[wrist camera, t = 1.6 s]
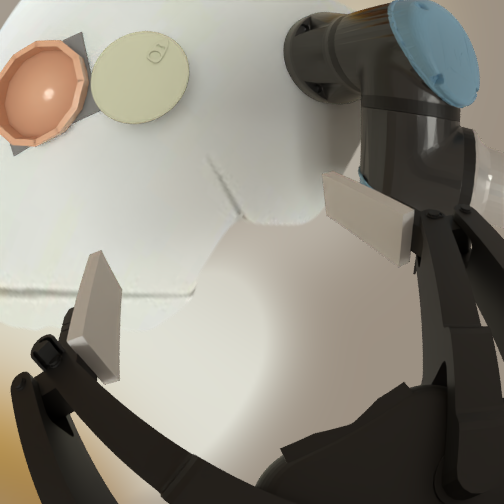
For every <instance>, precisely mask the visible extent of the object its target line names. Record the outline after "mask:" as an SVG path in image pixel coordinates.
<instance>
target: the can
mask: <svg viewBox="0 0 504 504" xmlns="http://www.w3.org/2000/svg"><path fill="white" fill-rule="evenodd" d="M188 79H189V64H188V60H187V57H186V55H185V53H184V51H183V49H182V48H181V47H180V46H179V45H178V43H176V42H175V41H174V40H173V39H171V38H170V37H168V36H166V35H163V34H161V33H157V32H151V31H142V32H135V33H131V34H128V35H125V36H123V37H121V38H119V39H117V40H116V41H114V42H113V43H111V44H110V45H109V46H108V47H107V48H106V49H105V50H104V51H103V52H102V54H101V55H100V56H99V58H98V59H97V61H96V63H95V65H94V68H93V71H92V75H91V92H92V96H93V99H94V101H95V103H96V104H97V106H98V107H99V109H100V110H101V111H102V112H103V113H104V114H105V115H107V116H108V117H110V118H111V119H114V120H116V121H119V122H122V123H128V124H140V123H146V122H149V121H152V120H155V119H157V118H159V117H161V116H163V115H164V114H166V113H167V112H168V111H170V110H171V109H172V108H173V107H174V106H175V105H176V104H177V103H178V101H179V100H180V99H181V97H182V96H183V94H184V92H185V89H186V87H187V84H188Z"/></svg>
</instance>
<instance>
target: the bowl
mask: <svg viewBox="0 0 504 504" xmlns="http://www.w3.org/2000/svg"><path fill="white" fill-rule="evenodd" d="M88 84H89V80H88V73H87V69H86V66H85V63H84V59H83V58H82V57H81V56H80V55H79V54H77V53H76V52H75V51H74V50H72V49H71V48H70V47H69V46H67V45H66V44H65V43H64V42H62V41H61V40H48V41H35V42H34V43H32V44H30V45H28V46H27V47H25V48H24V49H22V50H20V51H19V52H17V53H16V54H14V55H13V56H12V57H11V58H10V60H9V61H8V63H7V64H6V65H5V67H4V68H3V70H2V71H1V73H0V134H1V135H2V136H3V137H4V138H5V139H6V140H7V141H8V142H10V143H11V144H12V145H19V146H38V145H41V144H43V143H45V142H47V141H48V140H50V139H52V138H54V137H56V136H58V135H60V134H62V133H64V132H65V131H66V130H67V128H68V127H69V126H70V125H71V124H72V123H73V122H74V120H75V119H76V118H77V116H78V115H79V113H80V111H81V110H82V108H83V105H84V102H85V99H86V96H87V91H88Z"/></svg>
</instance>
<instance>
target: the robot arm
mask: <svg viewBox="0 0 504 504" xmlns="http://www.w3.org/2000/svg"><path fill="white" fill-rule="evenodd" d="M284 58H285V63H286V66H287V69H288V72H289V74H290V76H291V77H292V79H293V81H294V82H295V83H296V85H297V86H298V87H299V88H300V89H301V90H302V91H303V92H304V93H305V94H307V95H308V96H310V97H311V98H313V99H315V100H317V101H320V102H323V103H329V104H346V103H351V102H354V101H356V100H358V99H360V98H361V161H360V167H359V170H358V173H359V176H360V183H359V182H356V181H354V180H352V179H350V178H347V177H345V176H343V175H341V174H338V173H336V172H334V171H331V172H327V173H324V174H322V178H323V187H324V196H325V206H326V215H327V216H328V217H330V218H331V219H332V220H334V221H336V222H337V223H338V224H340V225H341V226H343V227H344V228H345V229H347V230H348V231H350V232H351V233H352V234H354V235H355V236H357V237H358V238H359V239H361V240H362V241H363V242H365V243H366V244H368V245H369V246H370V247H372V248H373V249H374V250H376V251H378V252H379V253H380V254H381V255H382V256H384V257H385V258H386V259H388V260H389V261H390V262H392V263H393V264H394V265H396V266H397V267H398V268H399V267H401V266H402V265H405V264H407V263H408V262H410V252H411V251H412V252H413V253H415V254H416V260H415V266H414V273H413V274H415V273H416V271H417V277H418V287H419V296H420V307H421V320H422V339H423V378H422V384H421V385H420V386H415V387H411V388H409V387H408V386H407V385H406V384H405V383H404V382H403V383H402V384H400V385H399V386H398V387H396V388H394V389H393V390H391V391H390V392H388V393H387V394H385V395H383V396H382V397H380V398H379V399H377V400H376V401H375V402H374V403H373V404H372V406H370V407H369V408H368V409H367V410H366V411H365V412H364V413H363V414H362V415H361V416H360V417H359V418H358V419H357V420H356V421H355V422H354V423H352V424H350V425H347V426H343V427H339V428H336V429H332V430H328V431H323V432H319V433H315V434H312V435H310V436H308V437H306V438H304V439H301V440H299V441H297V442H295V443H292V444H290V445H287V446H285V447H283V448H280V449H281V452H282V454H283V455H282V456H281V457H280V458H278V459H277V460H276V461H274V462H273V463H272V464H271V465H270V466H269V467H268V468H267V469H266V470H265V472H264V473H263V474H262V475H261V477H260V478H259V480H258V482H257V484H256V486H252V485H250V484H248V483H246V482H244V481H242V480H240V479H238V478H236V477H234V476H232V475H230V474H228V473H226V472H225V471H222V470H221V469H219V468H217V467H215V466H214V465H212V464H210V463H208V462H206V461H205V460H203V459H201V458H200V457H198V456H196V455H194V454H191V453H189V452H188V451H186V450H185V449H183V448H181V447H180V446H178V445H177V444H175V443H174V442H172V441H171V440H169V439H168V438H167V437H165V436H164V435H162V434H161V433H159V432H158V431H157V430H155V429H154V428H152V427H151V426H150V425H148V424H147V423H146V422H144V421H143V420H142V419H140V418H139V417H138V416H137V415H135V414H134V413H133V412H132V411H130V410H129V409H128V408H127V407H125V406H124V405H123V404H122V403H120V402H119V401H118V400H117V399H116V398H115V397H113V396H112V395H111V394H110V393H109V392H108V391H107V390H105V389H104V388H103V387H102V386H101V385H100V384H99V383H98V382H97V377H98V378H99V379H100V380H101V381H102V382H103V384H105V385H106V384H109V383H113V382H117V381H120V375H119V374H120V371H119V345H120V344H119V343H120V342H119V341H120V314H121V298H122V288H121V287H120V285H119V283H118V281H117V279H116V278H115V276H114V274H113V272H112V270H111V268H110V266H109V264H108V262H107V260H106V259H105V257H104V255H103V253H102V251H101V250H100V251H98V252H95V253H93V254H90V255H89V258H88V261H87V264H86V267H85V271H84V274H83V277H82V281H81V284H80V288H79V291H78V295H77V298H76V302H75V306H74V307H73V308H71V309H69V311H68V312H67V314H66V315H65V317H64V320H63V324H62V325H63V326H62V328H61V333H60V337H59V341H57V339H56V338H55V337H54V336H53V335H51V334H49V335H45V336H43V337H41V338H40V339H39V340H37V342H36V343H35V344H34V346H33V348H32V350H31V358H32V359H33V360H34V361H35V362H36V363H37V365H38V366H39V367H40V368H41V369H42V370H43V371H44V372H42V373H41V374H39V375H38V376H36V377H34V378H33V377H32V376H31V375H30V374H29V373H28V372H22V373H20V374H18V375H17V376H16V377H15V378H14V380H13V382H12V385H11V397H12V403H13V409H14V414H15V419H16V423H17V428H18V432H19V436H20V440H21V444H22V448H23V452H24V455H25V458H26V462H27V465H28V468H29V471H30V474H31V477H32V480H33V482H34V485H35V488H36V490H37V493H38V496H39V498H40V500H41V503H42V504H118V503H117V501H116V500H115V498H114V497H113V495H112V494H111V492H110V490H109V489H108V487H107V486H106V484H105V482H104V481H103V479H102V477H101V476H100V474H99V472H98V471H97V469H96V467H95V465H94V463H93V461H92V460H91V458H90V456H89V454H88V452H87V450H86V448H85V446H84V444H83V442H82V440H81V438H80V436H79V434H78V432H77V429H76V427H75V425H74V423H73V420H72V418H71V416H70V413H72V412H74V411H75V412H76V413H77V415H78V416H79V417H80V418H81V419H82V420H83V422H84V423H85V424H86V425H87V426H88V427H89V428H90V429H91V430H92V432H94V434H95V435H96V436H97V437H98V438H99V439H100V440H101V441H102V442H103V443H104V444H105V445H106V446H107V447H108V448H109V449H110V450H111V451H112V452H113V453H114V454H115V455H116V456H117V457H118V458H119V459H121V460H122V461H123V462H124V463H125V464H126V465H127V466H128V467H129V468H130V469H132V470H133V471H134V472H135V473H136V474H137V475H139V476H140V477H141V478H142V479H143V480H145V481H146V482H147V483H149V484H150V485H151V486H152V487H153V488H155V489H156V490H157V491H158V492H159V493H160V494H161V497H162V498H163V499H164V500H165V501H166V502H168V503H169V504H504V398H502V391H501V383H500V375H499V368H498V362H497V356H496V351H495V346H494V341H493V338H494V340H495V342H496V344H497V347H498V349H499V352H500V354H501V356H502V359H503V361H504V239H503V238H502V237H501V236H500V235H499V234H498V233H497V231H496V230H495V229H494V228H493V227H492V226H491V225H494V226H497V227H500V228H504V152H502V151H499V150H496V149H492V148H489V147H487V146H486V145H485V144H484V143H483V141H482V140H481V138H480V137H479V136H478V134H477V133H476V131H475V130H472V129H468V128H464V127H461V126H460V108H463V107H466V106H469V105H471V104H472V103H473V102H474V100H475V99H476V97H477V94H476V92H477V91H478V90H479V84H480V78H479V77H480V76H479V67H478V62H477V58H476V55H475V52H474V49H473V46H472V44H471V42H470V39H469V38H468V36H467V34H466V32H465V31H464V29H463V27H462V26H461V25H460V23H459V22H458V21H457V19H455V17H454V16H453V15H452V14H451V13H450V12H449V11H448V10H446V9H445V8H444V7H442V6H440V5H439V4H437V3H435V2H433V1H430V0H395V1H392V2H391V3H387V4H383V5H379V6H375V7H371V8H368V9H364V10H360V11H357V12H353V13H350V14H340V13H330V12H321V13H315V14H312V15H309V16H307V17H305V18H303V19H301V20H299V21H298V22H296V23H295V24H294V25H293V26H292V28H291V29H290V31H289V32H288V34H287V37H286V40H285V44H284ZM490 224H491V225H490ZM471 243H472V249H471ZM475 302H476V303H475ZM476 304H477V306H478V308H479V310H480V311H481V314H482V315H483V317H484V319H485V321H486V323H487V325H488V326H486V327H483V326H481V323H480V319H479V315H478V311H477V307H476Z"/></svg>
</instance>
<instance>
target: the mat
mask: <svg viewBox="0 0 504 504" xmlns="http://www.w3.org/2000/svg"><path fill="white" fill-rule="evenodd" d="M62 42H64V43H65V44H66V45H67V46H69V47H70V48H71V49H72V50H74V51H75V52H76V53H77V54H79V55H80V56H81V57H82V58H83V59H84V63H85V66H86V69H87V73H88V80H89V84H88V91H87V96H86V99H85V102H84V105H83V108H82V110H81V111H80V113H79V115H78V116H77V118H76V119H75V120H74V122H77V121H79V120H81V119H83V118H85V117H87V116H89V115H92V114H94V113H96V112H98V111H101V110H100V109H99V107H98V106H97V104H96V103H95V101H94V99H93V96H92V92H91V71H90V67H89V63H88V59H87V54H86V50H85V45H84V40H83V35H82V32H80V33H78V34H76V35H74V36H72V37H69V38H67V39H65V40H63V41H62ZM74 122H73V123H74ZM9 143H10V142H9ZM10 146H11V149H12V152H13V155H14V156H15V155H17V154H18V153H20V152H22V151H23V150H25V149H26V148H28V147H30V146H19V145H12V144H11V143H10Z"/></svg>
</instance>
